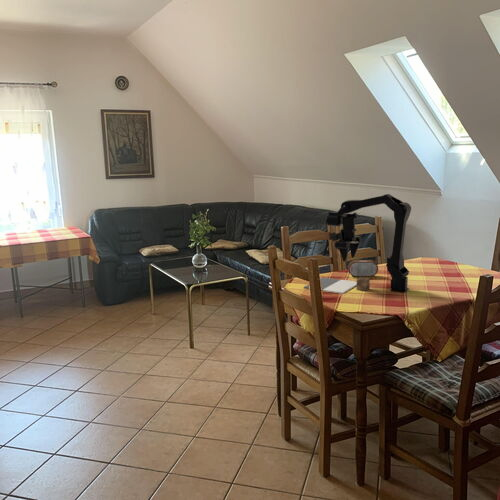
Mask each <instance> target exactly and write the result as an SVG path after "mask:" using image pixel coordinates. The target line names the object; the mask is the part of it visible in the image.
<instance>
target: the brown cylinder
mask: <svg viewBox="0 0 500 500" xmlns="http://www.w3.org/2000/svg"><path fill="white" fill-rule="evenodd" d="M370 278H371V277H358V278H356V282H357V286H356V291H361V292H367V291H369V290H371V289H370V285H371V282H370Z"/></svg>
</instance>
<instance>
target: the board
mask: <svg viewBox="0 0 500 500" xmlns="http://www.w3.org/2000/svg"><path fill="white" fill-rule="evenodd" d="M319 279H320V281H321V289H322V291H321V292H328V293H335V294H341V295H343V294H346V293H347V292H348V291H350V290H351V289H353V288H355V287H357V281H354V280H348V279H347V280H346V279H338V278H331V277H321V278H319ZM303 289H306V290H310V289H309V284H307V285H305V286H303Z"/></svg>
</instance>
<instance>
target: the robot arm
mask: <svg viewBox="0 0 500 500" xmlns="http://www.w3.org/2000/svg"><path fill="white" fill-rule="evenodd" d="M383 204H384V205H385V206H386V207H387V208H389V209H390V210H391V211H393V218H394V221H395V225H394V226H395V227H394V233H393V234H394V235H393V243H392V250H391V251H392V253H391V255H390V256H388V257H387V258H386V265H385V267H386V270H387V272H388V273H389V274H390V277H391V279H390V289H389V290H390V291H391V292H398V293H406V292H407V291H408V290H409V287H408V280H409V276H408V275H409V273H410V271H409V269H408V268H407V267H406V266H405V259H404V255H403V253H404V252H403V251H404V243H405V242H404V241H405V234H406V228H407V227H406V225H407V222H408V220H409V217H410V216H411V213H412V206H411V205H410V203H408V202H403V201H402V200H401V199H398V198H396V197H394V196H393V195H392V194H389V193H386V194H382V195H379V196H374V197H369V198H364V199H347V200H344V201H342V203H341V204H340V208H339V209H338V211H328V215H327V217H326V220H325V221H326V225H327V226H329V227H341V226H342V228H341V229H340V230H339V231H340V232H338V233H336V232H331V233H330V237H329V239H330V240H332V242H334V244H333V245H334V248H335V249H337V250H338V251H339V253H340V255H341V258H342V259H341V260H342V262H346V261H347V259H348V256H349V252H350V255H351V258H352V259H353V258H354V257H355V256H356V253H357V252H358V250H359V248H360V245H361V244H362V242H363V237H362V236H361V235H356V232H357V228H356V225H355V224H356V223H355V222H356V219H358V218H360V215H359V214H357V213H358V212H357V211H358V210H361V209H363V208H368V207H373V206H379V205H383ZM345 214H346V215H345Z"/></svg>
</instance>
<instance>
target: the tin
mask: <svg viewBox="0 0 500 500" xmlns="http://www.w3.org/2000/svg"><path fill="white" fill-rule="evenodd" d="M347 272H348V274H350V275H351V276H352V277H355V278H357V277H358V278H360V277H362V278H371V277H374V276H376V275H377V274H378V272H379V266H378V264H377V262H376V261H375V260H372V259H354V260H352V261H350V262H349V263H348V265H347Z"/></svg>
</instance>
